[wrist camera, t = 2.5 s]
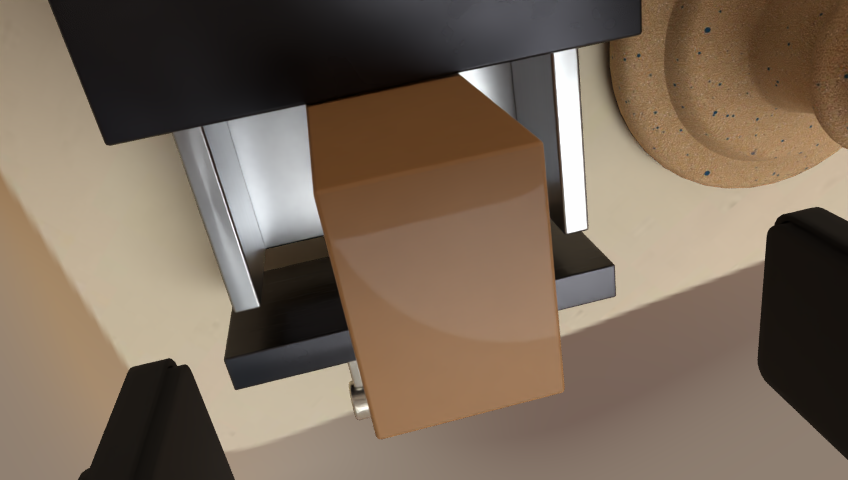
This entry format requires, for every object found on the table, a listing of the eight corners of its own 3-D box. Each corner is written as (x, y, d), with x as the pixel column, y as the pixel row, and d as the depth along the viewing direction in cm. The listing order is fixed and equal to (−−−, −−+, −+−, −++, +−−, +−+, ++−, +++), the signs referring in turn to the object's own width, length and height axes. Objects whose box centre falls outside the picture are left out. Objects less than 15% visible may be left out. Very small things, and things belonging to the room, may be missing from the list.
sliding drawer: (563, 309, 28) (620, 386, 23) (271, 381, 26) (267, 478, 22) (536, -24, 22) (604, -12, 17) (160, 51, 21) (121, 85, 16)
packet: (340, 226, 23) (377, 442, 13) (302, 70, 21) (312, 191, 11) (450, 201, 23) (566, 393, 14) (425, 44, 21) (544, 140, 11)
